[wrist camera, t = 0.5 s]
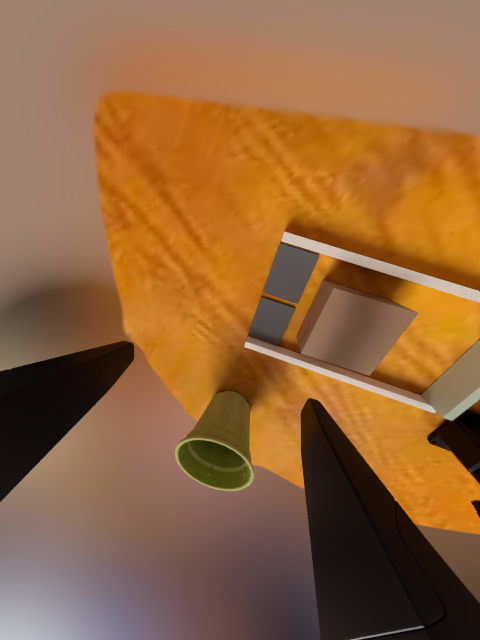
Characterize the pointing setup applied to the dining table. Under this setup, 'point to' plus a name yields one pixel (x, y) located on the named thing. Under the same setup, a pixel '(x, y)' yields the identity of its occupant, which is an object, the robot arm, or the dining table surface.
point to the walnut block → (351, 327)
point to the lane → (442, 396)
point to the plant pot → (219, 445)
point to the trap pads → (282, 292)
